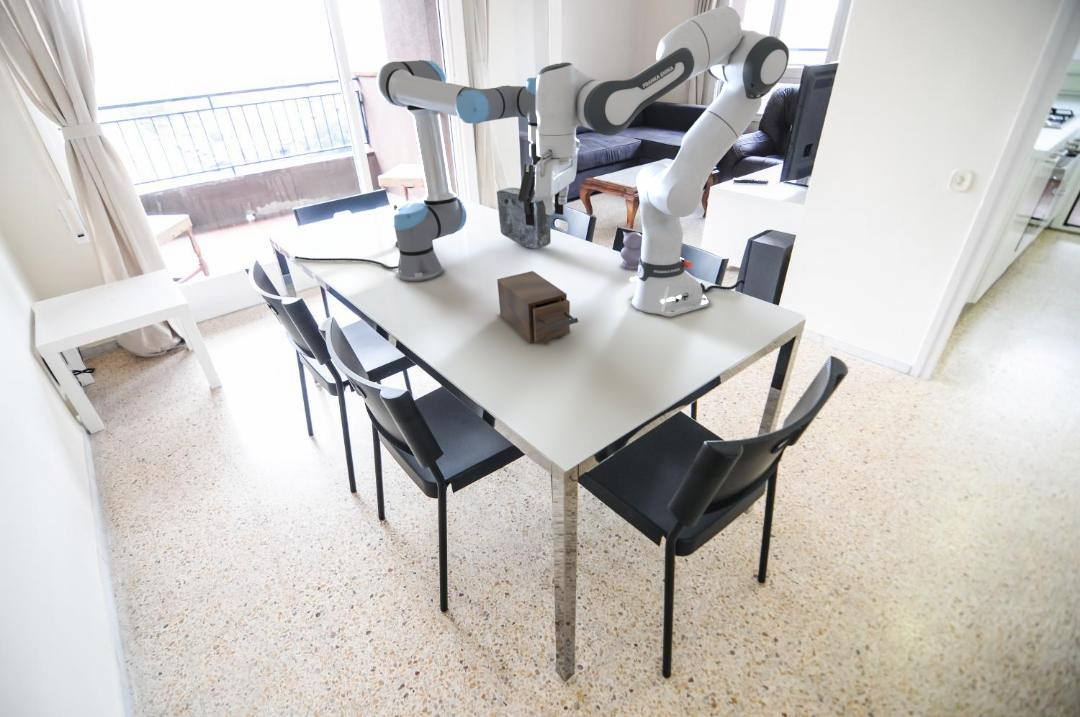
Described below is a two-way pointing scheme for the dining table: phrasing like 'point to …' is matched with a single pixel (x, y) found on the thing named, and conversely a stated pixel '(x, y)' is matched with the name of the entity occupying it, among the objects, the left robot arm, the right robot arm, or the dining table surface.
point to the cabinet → (525, 299)
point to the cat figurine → (631, 250)
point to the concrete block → (523, 220)
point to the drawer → (551, 320)
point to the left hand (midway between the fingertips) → (545, 219)
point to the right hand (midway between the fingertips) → (556, 209)
